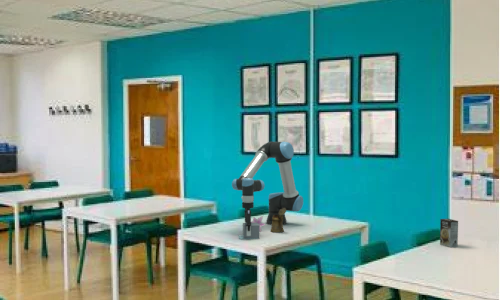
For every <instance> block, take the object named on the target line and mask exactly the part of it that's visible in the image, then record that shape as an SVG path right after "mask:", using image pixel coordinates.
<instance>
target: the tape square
mask: <svg viewBox="0 0 500 300" xmlns="http://www.w3.org/2000/svg"><path fill="white" fill-rule="evenodd" d="M237 237H238V239H239V240H245V239H244V238H243V234H242V235H241V234H240V235H238V236H237ZM256 240H259V239H258V238H257V239H256Z"/></svg>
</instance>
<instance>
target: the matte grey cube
mask: <svg viewBox="0 0 500 300" xmlns="http://www.w3.org/2000/svg"><path fill="white" fill-rule="evenodd" d="M246 225H247V223H245V222H242V235H243V238H244V239H243V240H260V236H261V235H260V233H261V232H260V225H259V224H258V223H251V236H247V226H246ZM257 238H258V239H257Z"/></svg>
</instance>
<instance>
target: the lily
mask: <svg viewBox="0 0 500 300" xmlns="http://www.w3.org/2000/svg"><path fill="white" fill-rule="evenodd" d="M263 218H264V216H263V215H262V216H260V217H258V218H256V217H252V219H253V220H251V223H258V224H259V225H260V233H261V232H262V227H264V226H266V224H267V223H264V222H263Z"/></svg>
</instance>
